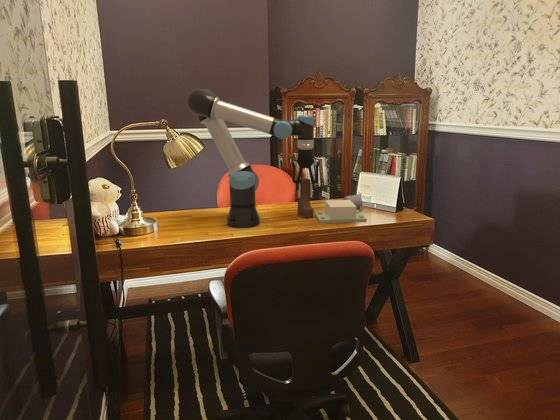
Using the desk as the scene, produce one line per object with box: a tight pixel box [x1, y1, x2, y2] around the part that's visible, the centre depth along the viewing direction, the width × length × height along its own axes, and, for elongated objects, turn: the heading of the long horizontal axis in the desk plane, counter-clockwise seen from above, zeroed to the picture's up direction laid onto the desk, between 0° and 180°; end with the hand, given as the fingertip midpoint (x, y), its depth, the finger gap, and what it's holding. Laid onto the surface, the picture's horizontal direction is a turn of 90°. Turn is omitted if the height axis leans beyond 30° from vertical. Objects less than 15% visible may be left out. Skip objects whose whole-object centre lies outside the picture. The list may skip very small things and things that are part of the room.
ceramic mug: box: [342, 194, 363, 213], centre depth 227 cm, size 11×8×8 cm
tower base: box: [314, 199, 368, 224], centre depth 212 cm, size 22×14×8 cm, turn 94°
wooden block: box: [297, 177, 315, 219], centre depth 215 cm, size 9×4×18 cm, turn 24°
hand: (305, 196), depth 215 cm, fingers closed on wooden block, 5 cm apart
